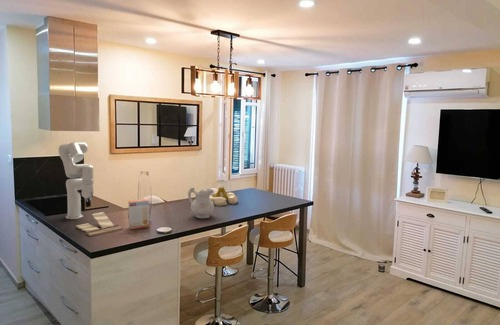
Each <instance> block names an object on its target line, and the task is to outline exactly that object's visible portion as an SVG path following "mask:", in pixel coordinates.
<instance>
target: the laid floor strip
mask: <svg viewBox="0 0 500 325" xmlns="http://www.w3.org/2000/svg"><path fill="white" fill-rule="evenodd" d="M123 229H124V228H123V227H122V226H119V225H118V224H114V226H110V227H105V228H101V227H100V228H99V229H96V230H92V231H87V232H85V235H86V236H89V237H95V236H99V235H105V234H107V233H112V232H117V231H122V230H123Z"/></svg>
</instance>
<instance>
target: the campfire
mask: <svg viewBox="0 0 500 325" xmlns="http://www.w3.org/2000/svg"><path fill="white" fill-rule="evenodd" d="M238 198H239V197H238V195H235V193H234V192H226V189H225V188H224V186H223V185H221V186H219V187H217V191H214V195H213V193H212V194H211V195H210V196H209V199H210V200H211V201H212V202H213V204H214V205H215V206H222V207H223V206H226V205H227V204H230V205H235V204H237V202H238V200H239V199H238ZM227 201H228V203H227Z"/></svg>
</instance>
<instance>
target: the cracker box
mask: <svg viewBox="0 0 500 325" xmlns="http://www.w3.org/2000/svg"><path fill="white" fill-rule="evenodd" d="M128 228H129V230H137V229H145V228H146V229H148V228H150V200H149V199H147V198H146V199H145V198H144V199H134V200H133V199H132V200H131V199H130V200H128Z"/></svg>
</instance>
